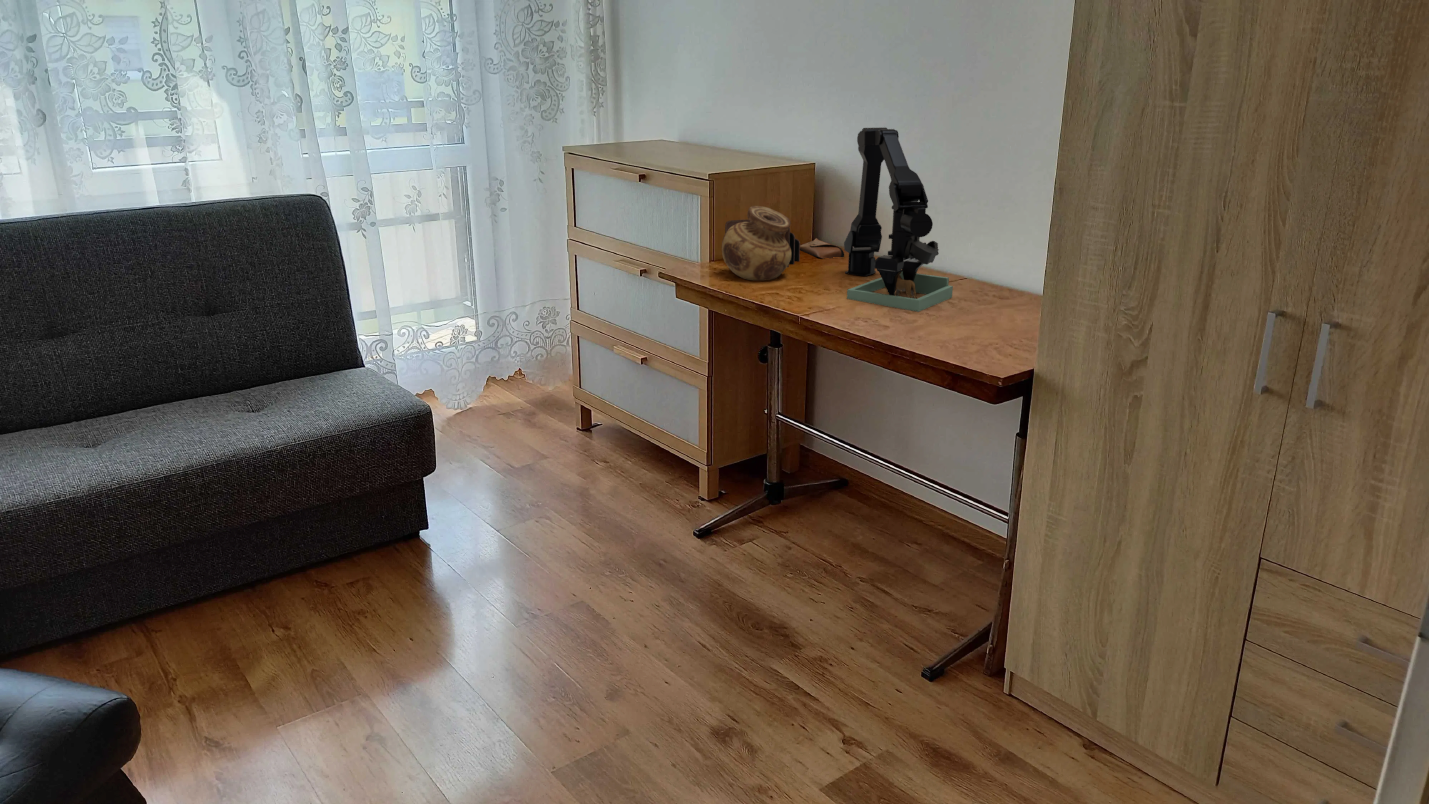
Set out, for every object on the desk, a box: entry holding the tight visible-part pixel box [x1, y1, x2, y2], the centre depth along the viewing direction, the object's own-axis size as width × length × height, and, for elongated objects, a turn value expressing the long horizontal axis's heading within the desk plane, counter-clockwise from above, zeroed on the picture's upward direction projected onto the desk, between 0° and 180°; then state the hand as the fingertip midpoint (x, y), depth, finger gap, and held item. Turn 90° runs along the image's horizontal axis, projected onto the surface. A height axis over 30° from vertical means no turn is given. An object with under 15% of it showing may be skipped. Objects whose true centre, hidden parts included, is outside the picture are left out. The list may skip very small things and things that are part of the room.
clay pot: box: [721, 205, 792, 281], centre depth 272 cm, size 19×19×20 cm
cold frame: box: [846, 272, 954, 313], centre depth 253 cm, size 19×19×5 cm
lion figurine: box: [880, 275, 919, 299], centre depth 253 cm, size 12×4×7 cm, turn 43°
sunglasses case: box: [800, 237, 845, 260], centre depth 307 cm, size 18×7×7 cm
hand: (900, 292), depth 253 cm, fingers open, 9 cm apart
